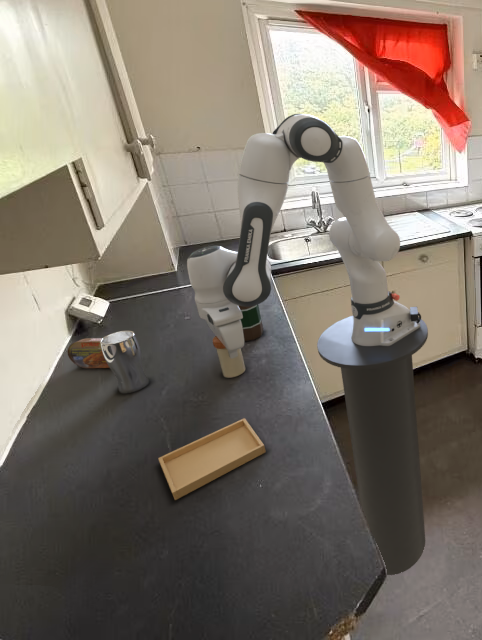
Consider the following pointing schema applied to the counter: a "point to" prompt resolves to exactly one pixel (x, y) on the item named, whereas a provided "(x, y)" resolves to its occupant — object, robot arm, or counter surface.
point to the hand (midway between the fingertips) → (229, 351)
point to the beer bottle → (251, 322)
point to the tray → (210, 457)
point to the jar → (231, 363)
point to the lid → (218, 343)
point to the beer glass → (125, 360)
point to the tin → (87, 353)
